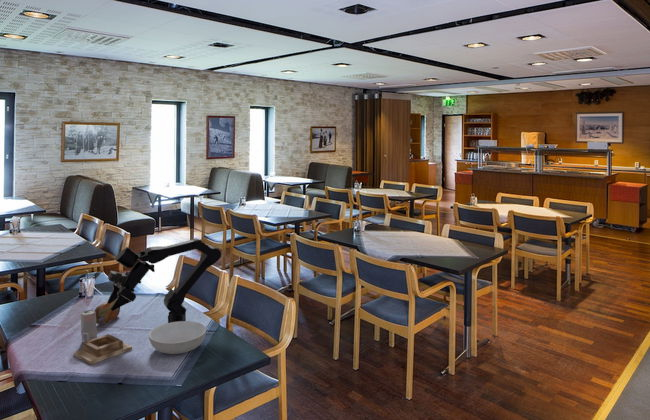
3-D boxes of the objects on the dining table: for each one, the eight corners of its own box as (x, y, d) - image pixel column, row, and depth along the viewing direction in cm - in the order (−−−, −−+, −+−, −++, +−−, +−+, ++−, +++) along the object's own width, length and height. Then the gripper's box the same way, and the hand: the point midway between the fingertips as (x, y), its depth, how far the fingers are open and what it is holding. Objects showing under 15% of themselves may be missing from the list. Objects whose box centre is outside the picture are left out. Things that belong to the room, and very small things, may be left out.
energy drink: (92, 337, 194) (90, 309, 193) (99, 341, 191) (98, 311, 190) (79, 342, 190) (77, 312, 188) (86, 345, 187) (85, 315, 185)
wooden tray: (114, 341, 192) (114, 331, 191) (132, 349, 185) (131, 338, 184) (73, 355, 179) (73, 344, 178) (90, 364, 172) (90, 353, 171)
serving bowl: (147, 341, 192) (147, 325, 191) (201, 334, 200) (201, 318, 199) (151, 364, 173) (150, 346, 172) (210, 355, 181) (210, 337, 180)
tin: (99, 327, 205) (98, 308, 204) (92, 327, 205) (91, 307, 204) (121, 315, 219) (120, 297, 218) (114, 314, 220) (114, 296, 219)
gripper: (115, 258, 201) (89, 289, 197) (123, 268, 185) (95, 303, 181) (137, 273, 206) (112, 303, 202) (147, 284, 190) (120, 318, 187)
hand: (109, 306), depth 193 cm, fingers open, 9 cm apart
